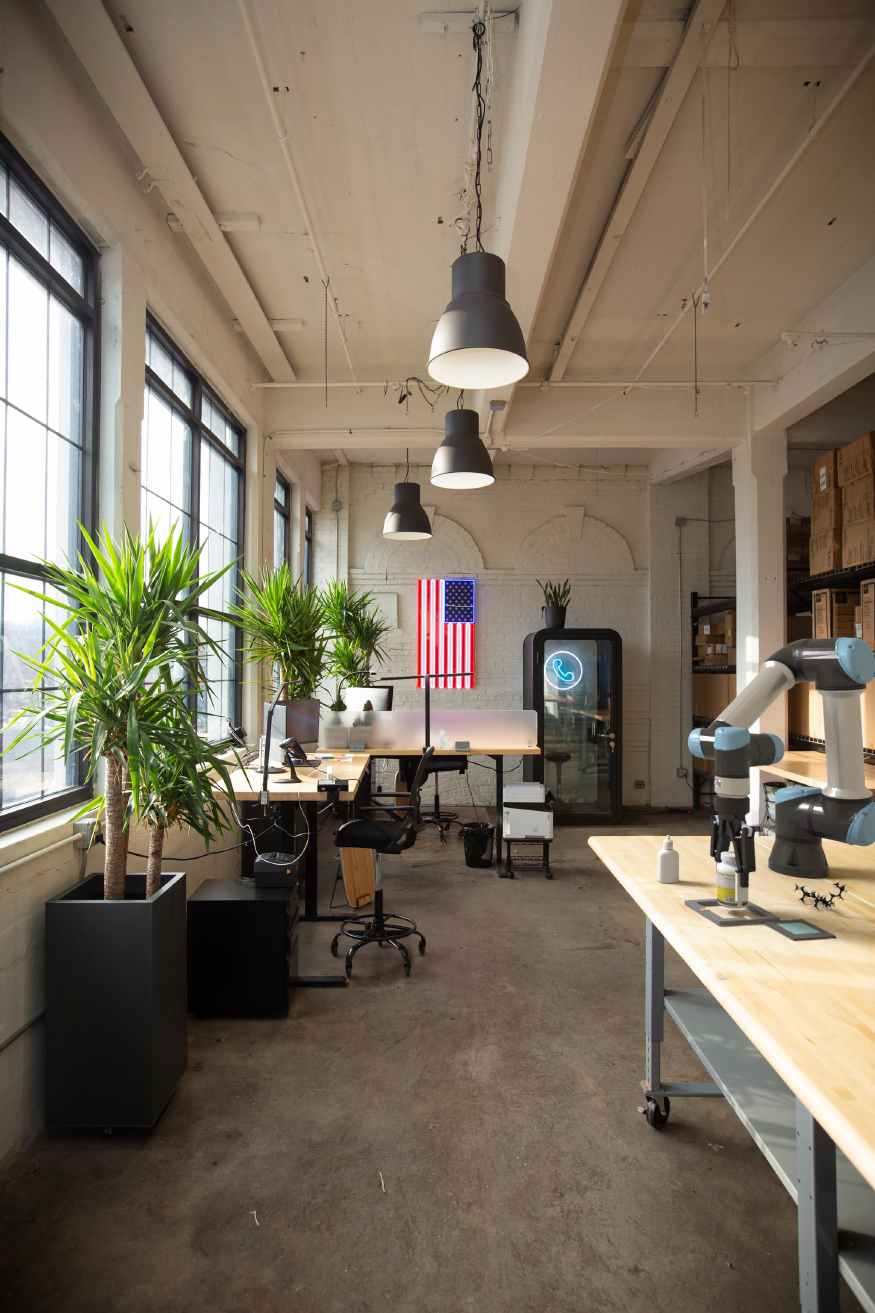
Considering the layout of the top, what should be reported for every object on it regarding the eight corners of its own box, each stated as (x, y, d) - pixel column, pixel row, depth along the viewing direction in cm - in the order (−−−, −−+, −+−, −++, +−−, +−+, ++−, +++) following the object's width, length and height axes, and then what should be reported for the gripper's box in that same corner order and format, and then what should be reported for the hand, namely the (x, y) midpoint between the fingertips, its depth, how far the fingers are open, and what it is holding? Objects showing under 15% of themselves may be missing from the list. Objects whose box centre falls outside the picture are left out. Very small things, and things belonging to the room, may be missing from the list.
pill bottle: (744, 901, 164) (744, 851, 164) (750, 911, 158) (750, 858, 158) (714, 899, 166) (714, 849, 166) (719, 908, 159) (719, 856, 160)
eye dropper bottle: (656, 878, 188) (656, 833, 188) (678, 880, 187) (678, 834, 187) (656, 883, 184) (657, 836, 184) (679, 885, 182) (679, 838, 183)
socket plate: (741, 901, 170) (741, 896, 170) (781, 922, 156) (781, 917, 156) (684, 904, 167) (684, 899, 167) (720, 926, 153) (720, 921, 153)
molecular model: (804, 896, 174) (803, 863, 174) (853, 917, 160) (853, 881, 160) (782, 899, 173) (782, 865, 173) (830, 920, 158) (830, 883, 158)
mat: (802, 920, 157) (802, 918, 157) (836, 937, 147) (836, 935, 147) (762, 923, 155) (762, 921, 155) (793, 940, 146) (793, 938, 146)
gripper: (693, 788, 171) (693, 883, 171) (743, 803, 152) (743, 911, 152) (721, 787, 172) (721, 881, 172) (774, 802, 153) (774, 909, 153)
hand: (732, 895), depth 162 cm, fingers closed on pill bottle, 6 cm apart
